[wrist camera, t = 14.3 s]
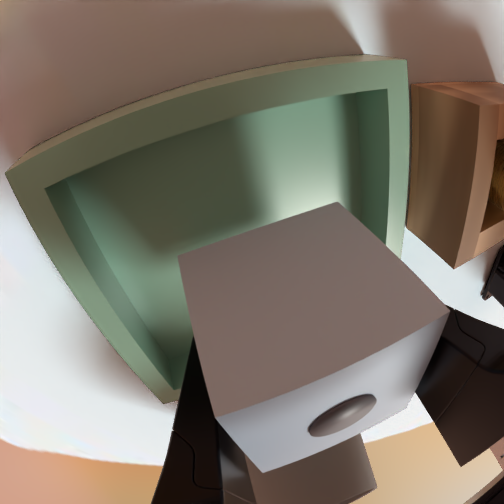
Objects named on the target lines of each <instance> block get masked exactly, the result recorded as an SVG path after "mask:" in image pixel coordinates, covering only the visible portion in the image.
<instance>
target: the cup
mask: <svg viewBox="0 0 504 504" xmlns="http://www.w3.org/2000/svg"><path fill="white" fill-rule="evenodd" d="M244 455H245V459H246V463H247V467H248V471H249V475H250V479H251V483H252V487H253V491H254V495H255V499H256V502H257V504H349V503H351V502H353V501H355V500H357V499H359V498H361V497H363V496H365V495H367V494H368V493H370V492H372V491H373V490H375V489H376V488H377V484H376V481H375V478H374V475H373V472H372V468H371V465H370V462H369V459H368V456H367V453H366V449H365V446H364V443H363V440H362V437H361V434H360V433H359V434H357V435H355V436H353V437H351V438H349V439H347V440H345V441H343V442H340V443H338V444H336V445H334V446H332V447H329V448H327V449H325V450H322V451H320V452H318V453H315V454H313V455H310V456H308V457H306V458H303V459H300V460H298V461H295V462H293V463H290V464H287V465H284V466H282V467H279V468H276V469H273V470H270V471H267V472H264V473H262V472H261V471H260V470H259V469H258V467H257V466H256V465H255V464H254V463H253V462H252V461H251V460H250V459H249V457H248V456H247V455H246V454H245V453H244Z"/></svg>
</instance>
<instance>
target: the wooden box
mask: <svg viewBox="0 0 504 504" xmlns="http://www.w3.org/2000/svg"><path fill="white" fill-rule="evenodd" d="M411 103H412V154H411V178H410V193H409V206H408V217H407V227H406V228H407V229H408V230H410V231H411V232H412V233H413V234H414V235H416V236H417V237H418V238H419V239H420V240H421V241H423V242H424V243H425V244H426V245H427V246H428V247H429V248H431V249H432V250H433V251H434V252H435V253H436V254H437V255H438V256H440V257H441V258H442V259H443V260H444V261H445V262H446V263H447V264H448V265H449V266H451V267H452V268H453V269H455V268H457V267H459V266H461V265H462V264H464V263H466V262H468V261H469V260H471V259H473V258H474V257H476V256H478V255H479V254H481V253H483V252H484V251H486V250H488V249H489V248H491V247H492V246H494V245H496V244H497V243H499V242H500V241H502V240H503V239H504V211H503V210H501V209H500V208H499V207H497V206H496V205H494V204H493V203H492V202H490V201H489V200H488V195H489V190H490V184H491V178H492V172H493V166H494V159H495V151H496V143H497V140H500V141H502V142H504V84H501V83H498V82H436V83H418V84H411Z"/></svg>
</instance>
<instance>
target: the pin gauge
mask: <svg viewBox="0 0 504 504" xmlns="http://www.w3.org/2000/svg"><path fill="white" fill-rule="evenodd" d="M488 200H489V201H490V202H492V203H493V204H494V205H496V206H497V207H499V208H500V209H501V210H503V211H504V142H502V141H500V140H497V143H496V151H495V159H494V166H493V172H492V178H491V184H490V190H489V195H488Z"/></svg>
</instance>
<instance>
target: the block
mask: <svg viewBox="0 0 504 504" xmlns="http://www.w3.org/2000/svg"><path fill="white" fill-rule="evenodd" d="M177 257H178V263H179V268H180V273H181V278H182V283H183V288H184V293H185V298H186V302H187V307H188V312H189V316H190V321H191V325H192V330H193V334H194V338H195V342H196V347H197V351H198V355H199V359H200V363H201V367H202V371H203V375H204V379H205V383H206V387H207V390H208V394H209V398H210V402H211V405H212V409H213V413H214V416H215V418H216V420H217V421H218V422H219V423H220V425H221V426H222V427H223V428H224V429H225V431H226V432H227V433H228V434H229V435H230V437H231V438H232V439H233V440H234V441H235V443H236V444H237V445H238V446H239V447H240V448H241V450H242V451H243V452H244V453H245V454H246V455H247V456H248V457H249V459H250V460H251V461H252V462H253V463H254V464H255V465H256V466H257V467H258V469H259V470H260V471H261V472H262V473H264V472H267V471H270V470H273V469H276V468H279V467H282V466H284V465H287V464H290V463H293V462H295V461H298V460H300V459H303V458H306V457H308V456H310V455H313V454H315V453H318V452H320V451H322V450H325V449H327V448H329V447H332V446H334V445H336V444H338V443H340V442H343V441H345V440H347V439H349V438H351V437H353V436H355V435H357V434H359V433H361V432H363V431H365V430H367V429H369V428H371V427H373V426H375V425H377V424H379V423H381V422H382V421H384V420H386V419H388V418H390V417H391V416H393V415H395V414H397V413H399V412H400V411H402V410H404V409H405V408H407V406H408V404H409V402H410V400H411V398H412V396H413V395H414V393H415V391H416V389H417V387H418V385H419V383H420V381H421V379H422V377H423V374H424V372H425V370H426V368H427V366H428V364H429V362H430V359H431V357H432V355H433V353H434V350H435V348H436V346H437V343H438V341H439V338H440V336H441V334H442V331H443V329H444V326H445V324H446V321H447V318H448V316H449V313H450V310H449V309H448V308H447V307H446V306H445V305H444V304H443V302H442V301H441V300H440V299H439V298H438V297H437V296H436V295H435V294H434V293H433V292H432V291H431V290H430V289H429V288H428V287H427V286H426V285H425V284H424V283H423V282H422V281H421V279H420V278H419V277H418V276H417V275H416V274H415V273H414V272H413V271H412V270H411V269H410V268H409V267H408V266H407V265H406V264H405V263H404V262H402V261H401V260H400V259H399V258H398V257H397V256H396V255H395V254H394V253H393V252H392V251H391V250H390V249H389V248H388V247H387V246H386V245H385V244H384V243H383V242H382V241H381V240H380V239H379V238H377V237H376V236H375V235H374V234H373V233H372V232H371V231H370V230H369V229H368V228H367V227H366V226H364V225H363V224H362V223H361V222H360V221H359V220H358V219H357V218H356V217H354V216H353V215H352V214H351V213H350V212H349V211H348V210H347V209H345V208H344V207H343V206H342V205H341V204H340V203H339V202H334V203H331V204H328V205H325V206H322V207H319V208H316V209H313V210H310V211H307V212H304V213H301V214H298V215H295V216H292V217H289V218H286V219H283V220H280V221H277V222H274V223H271V224H268V225H265V226H262V227H259V228H256V229H253V230H250V231H247V232H244V233H241V234H238V235H235V236H232V237H229V238H226V239H224V240H221V241H218V242H215V243H212V244H209V245H206V246H203V247H201V248H198V249H195V250H192V251H189V252H186V253H183V254H181V255H178V256H177Z"/></svg>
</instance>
